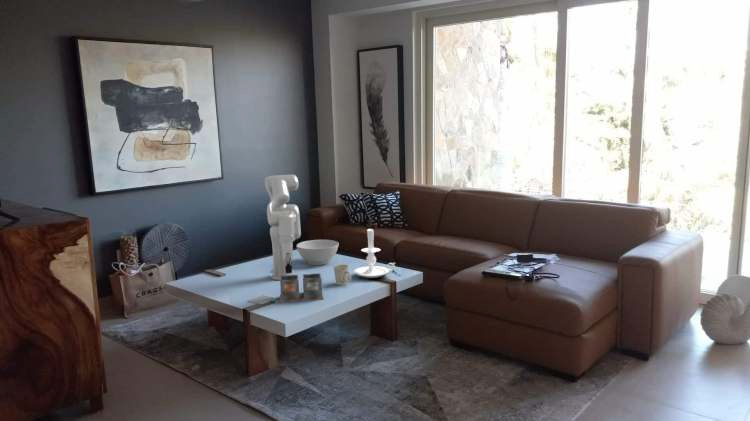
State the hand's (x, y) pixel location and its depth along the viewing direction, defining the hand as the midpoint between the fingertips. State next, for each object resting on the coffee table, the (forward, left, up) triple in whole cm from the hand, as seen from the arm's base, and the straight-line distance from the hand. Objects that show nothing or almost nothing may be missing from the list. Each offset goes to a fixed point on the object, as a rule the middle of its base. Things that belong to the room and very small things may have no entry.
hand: (288, 270), depth 303 cm
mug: (+8, +34, -15) cm, 38 cm away
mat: (-10, -10, -15) cm, 20 cm away
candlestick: (+13, +56, -15) cm, 59 cm away
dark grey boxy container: (+4, +4, -15) cm, 16 cm away
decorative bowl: (-37, +63, -15) cm, 74 cm away
